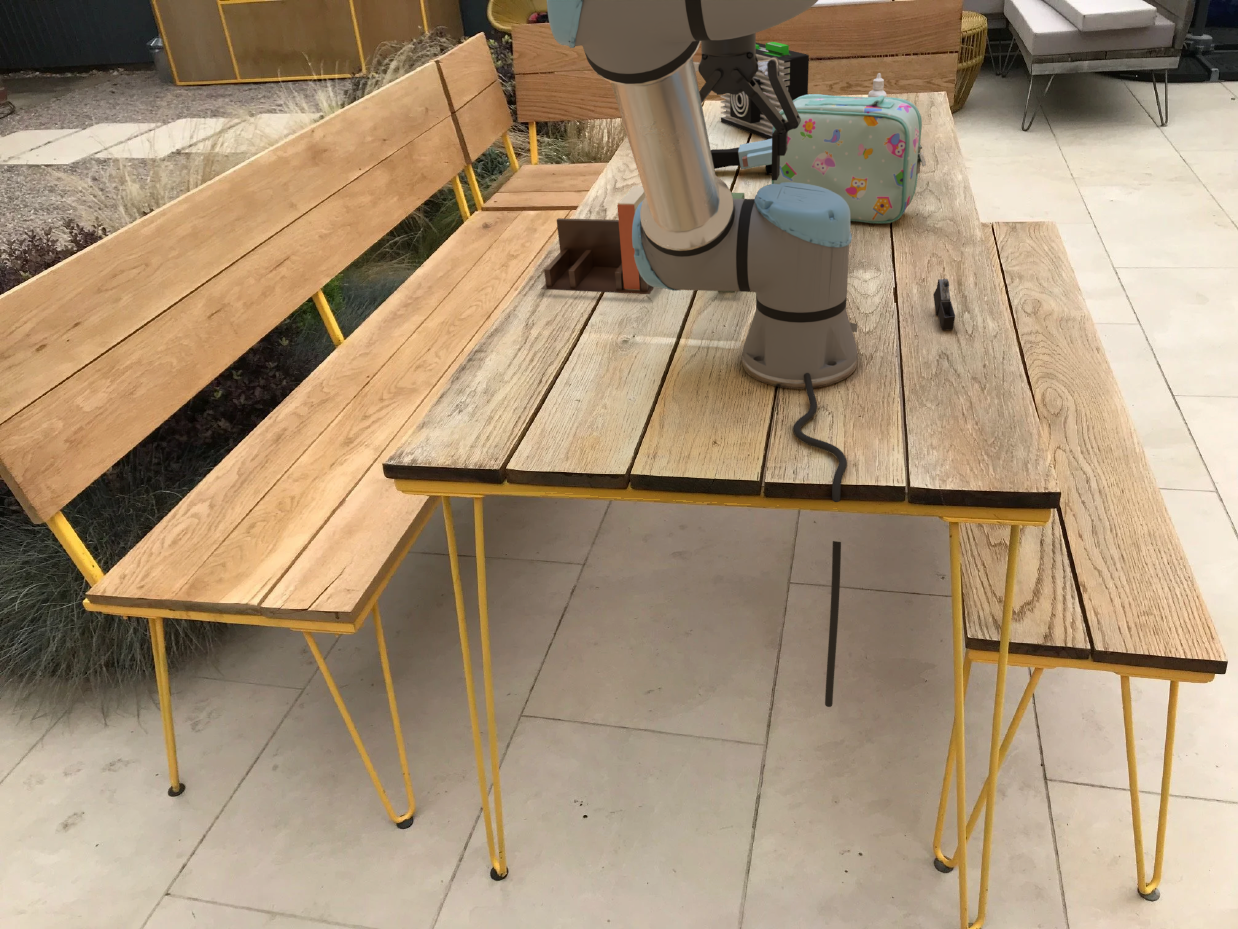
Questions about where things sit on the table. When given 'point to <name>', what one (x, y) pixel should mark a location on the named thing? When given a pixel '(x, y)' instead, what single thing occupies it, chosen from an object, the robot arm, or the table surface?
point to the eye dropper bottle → (877, 87)
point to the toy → (745, 156)
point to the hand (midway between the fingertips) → (730, 177)
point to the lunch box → (857, 152)
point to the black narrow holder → (944, 305)
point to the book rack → (589, 258)
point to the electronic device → (767, 89)
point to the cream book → (629, 236)
